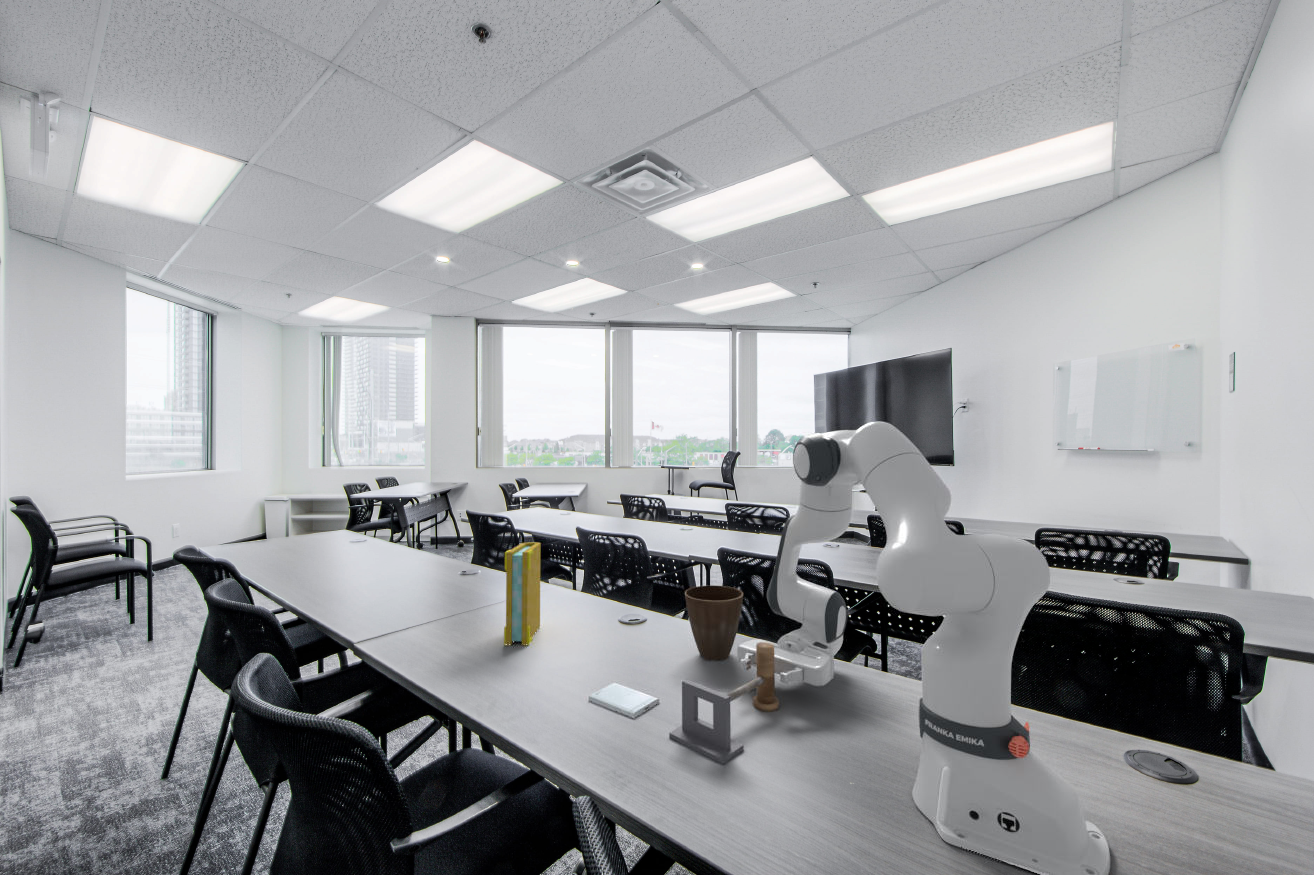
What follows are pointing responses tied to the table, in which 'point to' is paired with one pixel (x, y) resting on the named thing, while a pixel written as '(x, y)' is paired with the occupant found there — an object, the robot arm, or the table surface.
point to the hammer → (761, 680)
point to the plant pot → (714, 619)
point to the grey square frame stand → (706, 724)
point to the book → (522, 593)
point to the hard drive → (623, 700)
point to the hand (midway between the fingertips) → (762, 671)
